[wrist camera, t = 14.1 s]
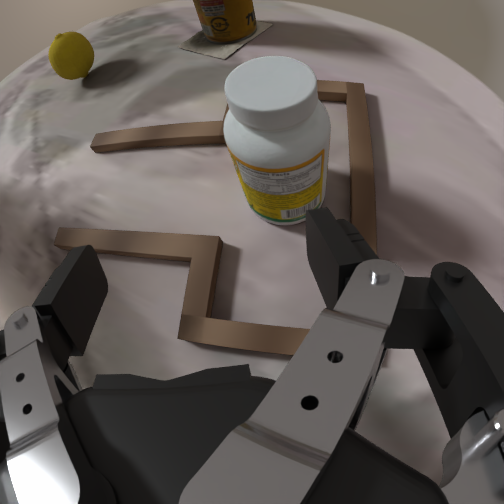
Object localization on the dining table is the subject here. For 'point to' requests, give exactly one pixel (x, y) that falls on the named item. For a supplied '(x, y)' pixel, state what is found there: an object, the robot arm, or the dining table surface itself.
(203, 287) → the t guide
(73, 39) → the lemon
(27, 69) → the dining table surface
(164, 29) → the dining table surface
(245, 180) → the supplement bottle
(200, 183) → the dining table surface
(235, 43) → the condiment
